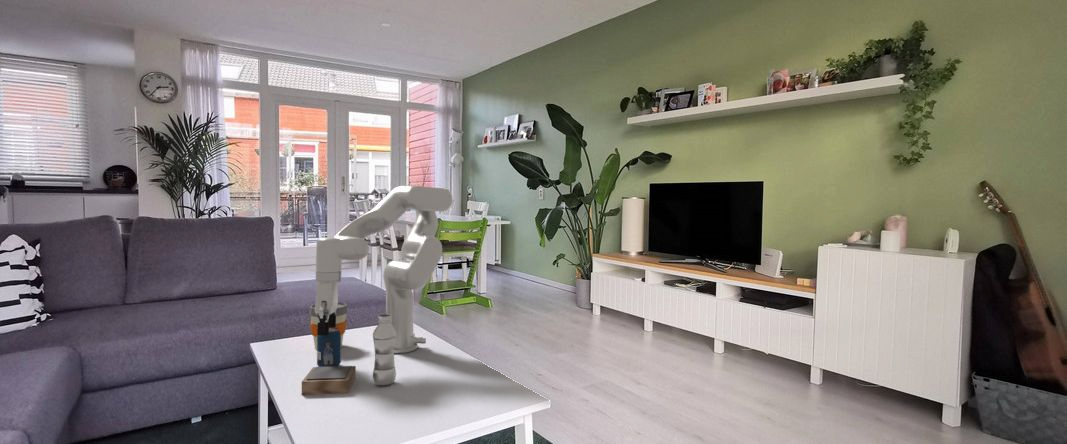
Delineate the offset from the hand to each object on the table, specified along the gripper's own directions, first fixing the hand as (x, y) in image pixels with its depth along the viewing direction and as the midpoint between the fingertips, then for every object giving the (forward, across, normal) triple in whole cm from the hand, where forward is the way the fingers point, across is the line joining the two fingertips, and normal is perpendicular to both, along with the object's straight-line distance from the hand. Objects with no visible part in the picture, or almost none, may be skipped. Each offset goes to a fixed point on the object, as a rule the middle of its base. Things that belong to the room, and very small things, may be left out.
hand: (326, 331), depth 162 cm
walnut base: (+12, +16, +5) cm, 21 cm away
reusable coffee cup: (+11, -23, -4) cm, 26 cm away
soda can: (+12, -1, +1) cm, 12 cm away
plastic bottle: (+12, +16, +20) cm, 28 cm away
